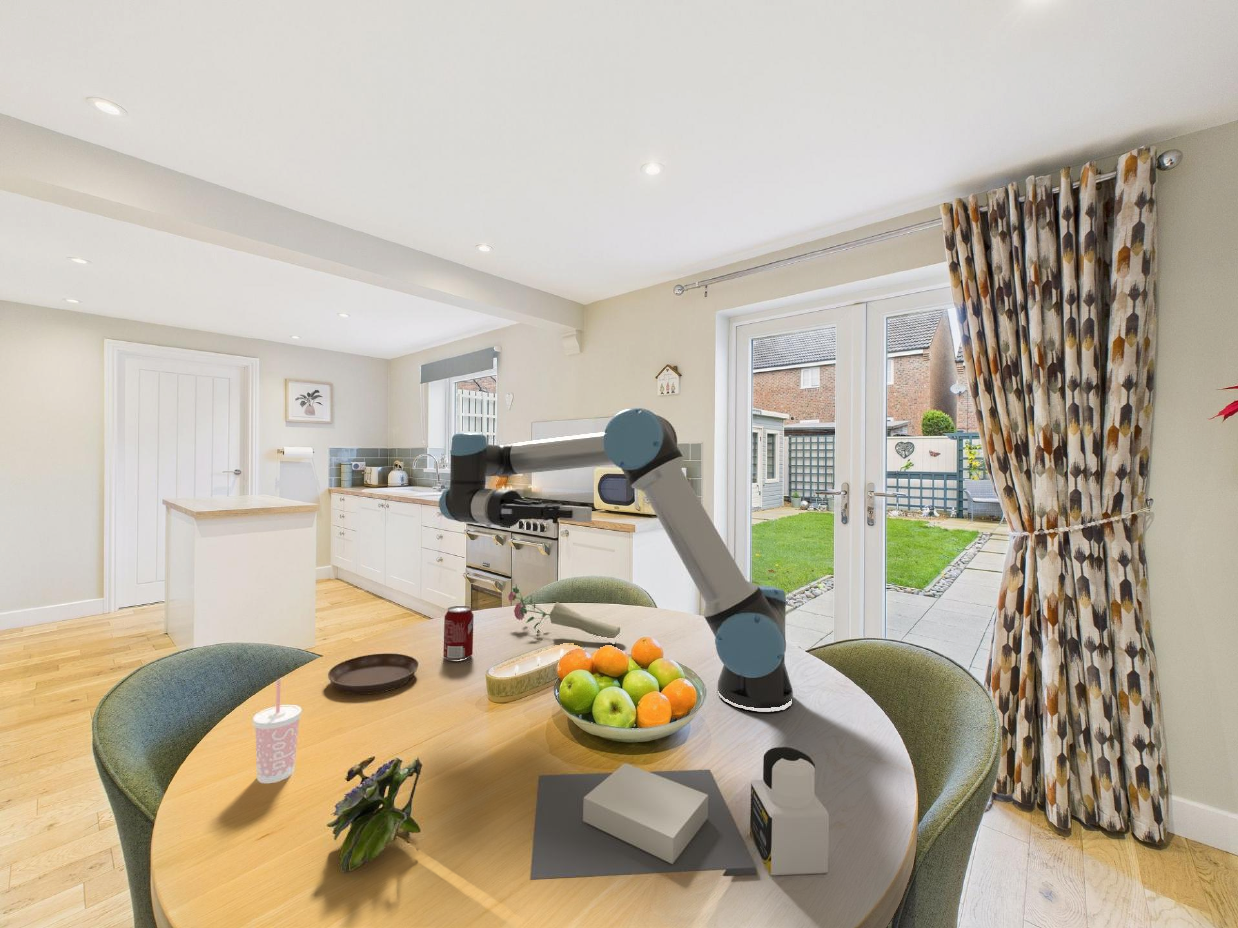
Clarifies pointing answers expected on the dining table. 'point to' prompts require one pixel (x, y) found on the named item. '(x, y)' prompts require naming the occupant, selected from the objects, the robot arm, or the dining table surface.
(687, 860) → the mat
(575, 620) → the flower vase
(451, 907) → the dining table surface
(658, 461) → the robot arm
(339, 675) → the plant saucer
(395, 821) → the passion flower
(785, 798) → the medicine bottle
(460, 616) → the soda can
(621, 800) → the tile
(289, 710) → the beverage cup
